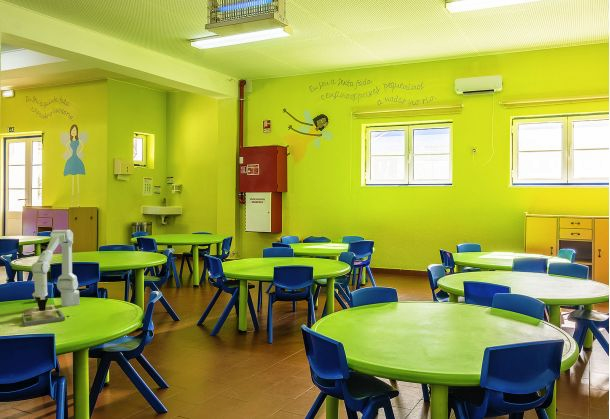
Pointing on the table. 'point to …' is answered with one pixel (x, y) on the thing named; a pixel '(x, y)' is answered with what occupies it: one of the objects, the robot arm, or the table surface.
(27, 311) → the stake board
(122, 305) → the table surface
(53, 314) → the cream square frame
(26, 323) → the tray
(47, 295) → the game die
